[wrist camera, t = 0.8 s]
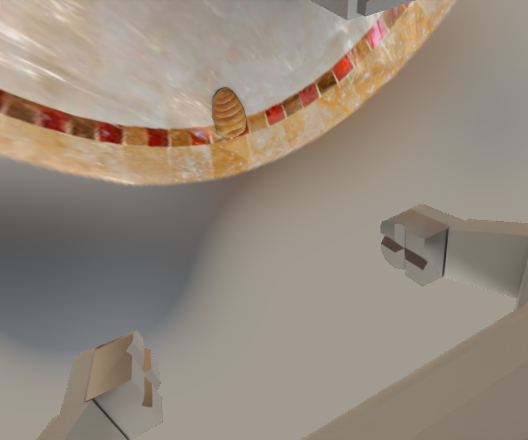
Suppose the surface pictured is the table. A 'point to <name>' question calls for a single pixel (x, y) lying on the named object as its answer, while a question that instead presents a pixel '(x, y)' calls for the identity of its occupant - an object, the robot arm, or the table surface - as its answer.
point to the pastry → (228, 114)
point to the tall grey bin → (358, 6)
